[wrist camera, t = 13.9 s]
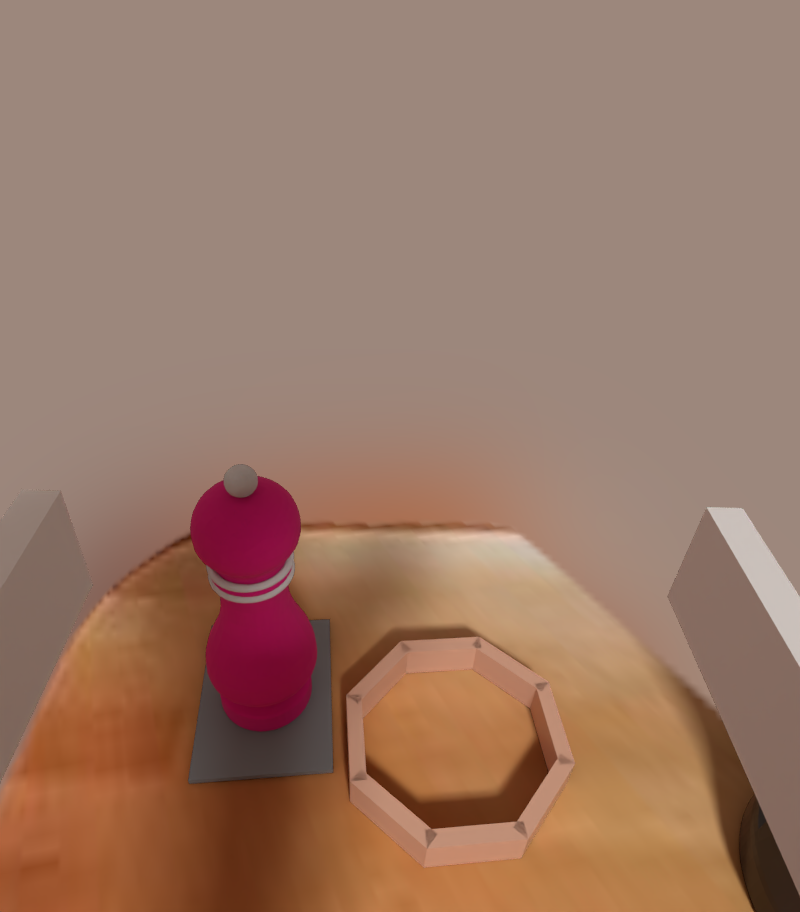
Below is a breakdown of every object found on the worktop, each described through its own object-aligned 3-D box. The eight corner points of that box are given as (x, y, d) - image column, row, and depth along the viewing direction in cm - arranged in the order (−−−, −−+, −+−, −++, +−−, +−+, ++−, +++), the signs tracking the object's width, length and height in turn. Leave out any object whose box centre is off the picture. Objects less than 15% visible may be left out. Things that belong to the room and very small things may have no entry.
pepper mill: (296, 752, 43) (277, 527, 31) (195, 724, 44) (138, 497, 32) (332, 661, 49) (327, 441, 36) (241, 638, 50) (207, 418, 38)
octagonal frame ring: (527, 654, 50) (533, 633, 49) (587, 851, 39) (597, 833, 38) (344, 665, 49) (344, 644, 47) (353, 874, 38) (353, 855, 36)
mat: (329, 622, 52) (329, 619, 52) (333, 772, 42) (333, 769, 42) (212, 628, 51) (211, 625, 51) (189, 783, 41) (188, 780, 41)
